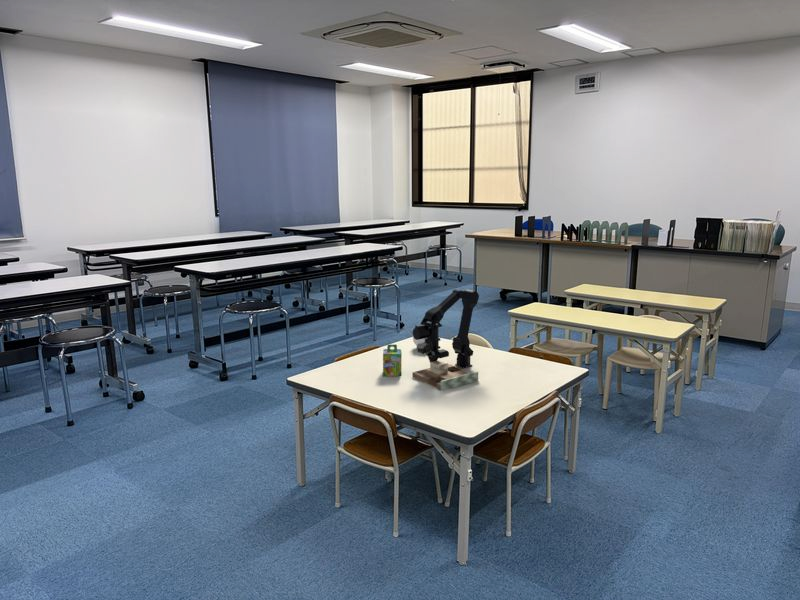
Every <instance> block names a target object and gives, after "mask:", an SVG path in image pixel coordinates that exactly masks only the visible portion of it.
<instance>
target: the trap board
mask: <svg viewBox="0 0 800 600" xmlns="http://www.w3.org/2000/svg"><path fill="white" fill-rule="evenodd" d="M412 378H414V379H416V380H418V381H419V382H422V383H424V384H426V385H429V386H431V387H433V388H435V389H436V390H437V389H438V390H439V391H442V392H443V391H446V390H450V389H454V388H457V387H460V386H464V385H468V383H469V384H472V383H475V381H476V382H478V381H479V371H477V370H476V371H473V372H470V371H468V370H464V369H463V368H461V367H458V366H456V365H453V364H450V363H448V372H446V373H442V374H436V373H433V372H431V371H430V368H424V369H419V370H417V371H412Z"/></svg>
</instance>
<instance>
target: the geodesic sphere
mask: <svg viewBox="0 0 800 600" xmlns="http://www.w3.org/2000/svg"><path fill="white" fill-rule="evenodd" d="M412 340H413V343H414V344H415V346H416V347H417V346H418V344H420V343H423V342H425V338H424V339H419V340H416V339H414V337H413V336H412Z"/></svg>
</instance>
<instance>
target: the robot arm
mask: <svg viewBox="0 0 800 600" xmlns="http://www.w3.org/2000/svg"><path fill="white" fill-rule="evenodd" d="M479 297H480V295H479V293H478V291H476V290H472V289H465V290H461V289H456V288H455V289H453V290H452V292H451V293H450V294H448V296H447V297H445V298H444V299H443V300H442V302H441V301H440V303H439V304H438V305H436V306H435V307H432V308H430V309H428V310H427V311H426V312H425V313H424V316H423V318H422V320H421V322H420V324H417V325H415V326H414V328H413V330H412V338H413V337H414V339H416V340H419V339H424V338H425V342H423V343H420V344H418V346H416V350H417V353H419V354H421V355H426V356H427V357H428V360H429V363H430V362H434V361H438V360H439V359H443V358H447V357H449V356H450V352H449V351H448V350H446V349H444V348H442V349H441V346H440V341H441V338H440V337H439V335H440V334H439V333H440V332H439V330H440V329H439V328H441V327H443V324H441V323H440V322H441V321H442V319H444V315H445V314H446V313H447V311H448V310H450V309H451V308H452V307H453V306H454V305H455V304H456V303H457V302H458V301H459V300H460V299H461V303H462V311H461V318H460V323H459V328H458V329H459V330H458V333H457V335H456V336H453V338H452V344H451V345H452V349H453V352H454V354H456V364H454V366H455V367H457V368H460V369H466V368H470V367H473V364H471V356H473V355H474V350H473V349H472V348H471V347H470V339H469V331H470V327H471V322H472V316H473V311H474V308H475V307H476V306H477V304H478V301H479Z"/></svg>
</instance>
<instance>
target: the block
mask: <svg viewBox="0 0 800 600" xmlns="http://www.w3.org/2000/svg"><path fill="white" fill-rule="evenodd" d="M429 363H430V365H429V366H430V371H431V372H433V373H436V374H442V373H446V372H448V364H449V362H446V361H444V360H440V359H438V360H437V361H434V362H430V361H429Z"/></svg>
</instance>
